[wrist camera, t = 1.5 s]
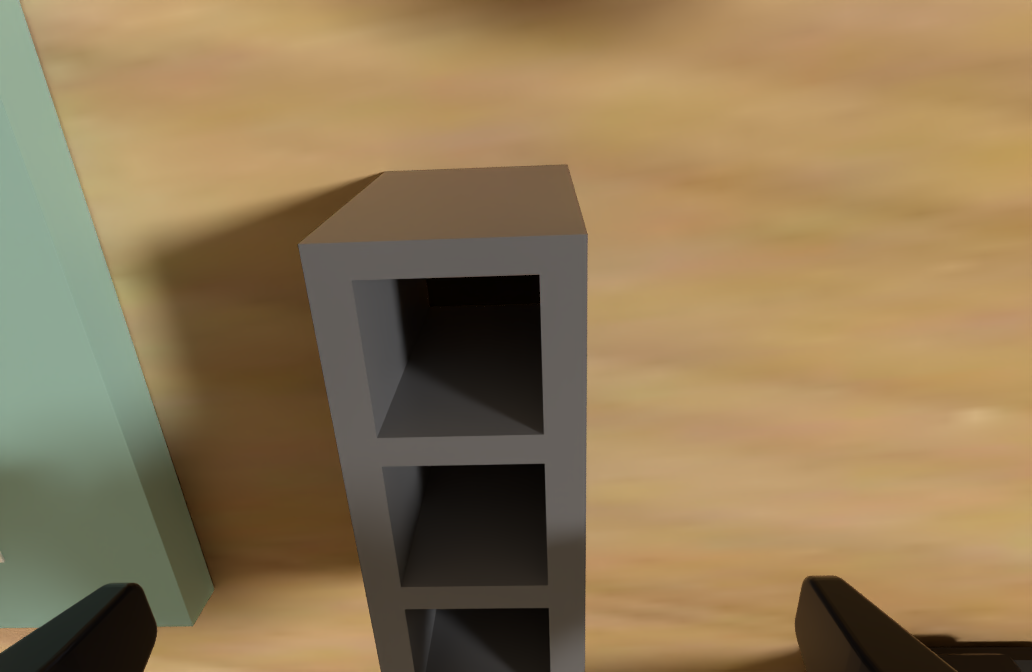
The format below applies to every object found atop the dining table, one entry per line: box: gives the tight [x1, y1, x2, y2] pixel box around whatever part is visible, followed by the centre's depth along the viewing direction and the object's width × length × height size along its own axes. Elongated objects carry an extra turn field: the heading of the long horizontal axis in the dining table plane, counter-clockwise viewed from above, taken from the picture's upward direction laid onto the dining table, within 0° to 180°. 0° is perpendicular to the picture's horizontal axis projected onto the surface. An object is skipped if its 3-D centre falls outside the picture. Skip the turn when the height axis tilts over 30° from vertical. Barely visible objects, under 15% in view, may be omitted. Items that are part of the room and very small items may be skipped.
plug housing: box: [298, 165, 588, 672], centre depth 12 cm, size 9×4×5 cm, turn 2°
